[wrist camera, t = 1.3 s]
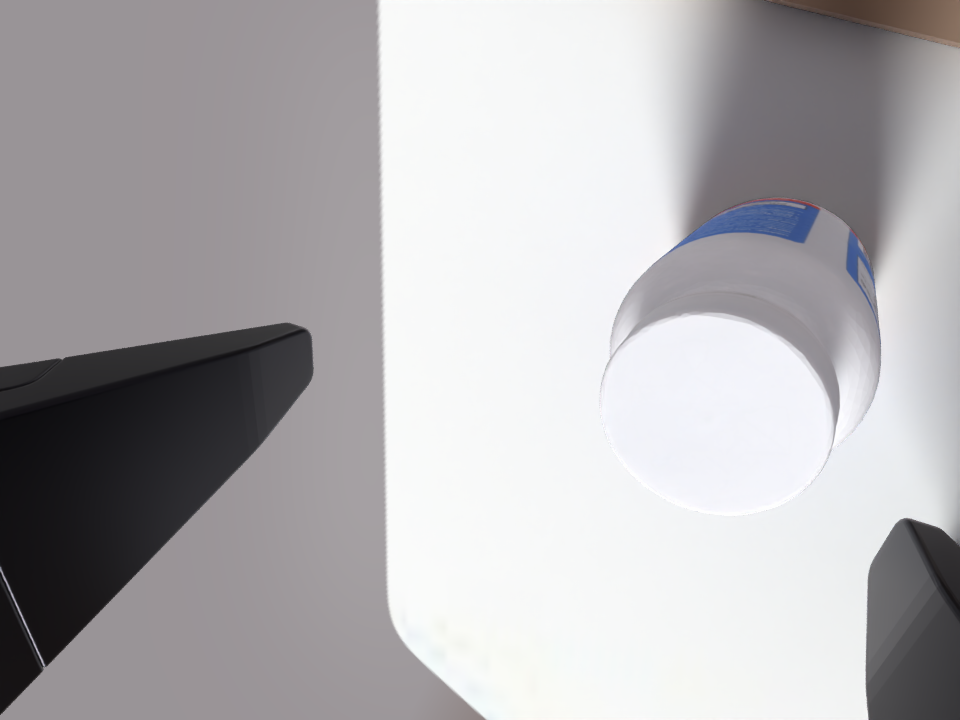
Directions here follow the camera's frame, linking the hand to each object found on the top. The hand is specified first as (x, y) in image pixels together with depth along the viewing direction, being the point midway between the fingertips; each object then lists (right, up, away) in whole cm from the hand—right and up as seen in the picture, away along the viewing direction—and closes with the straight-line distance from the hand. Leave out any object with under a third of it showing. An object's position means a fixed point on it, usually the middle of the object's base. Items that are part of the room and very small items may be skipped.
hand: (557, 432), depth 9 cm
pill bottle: (+8, +3, +9) cm, 13 cm away
